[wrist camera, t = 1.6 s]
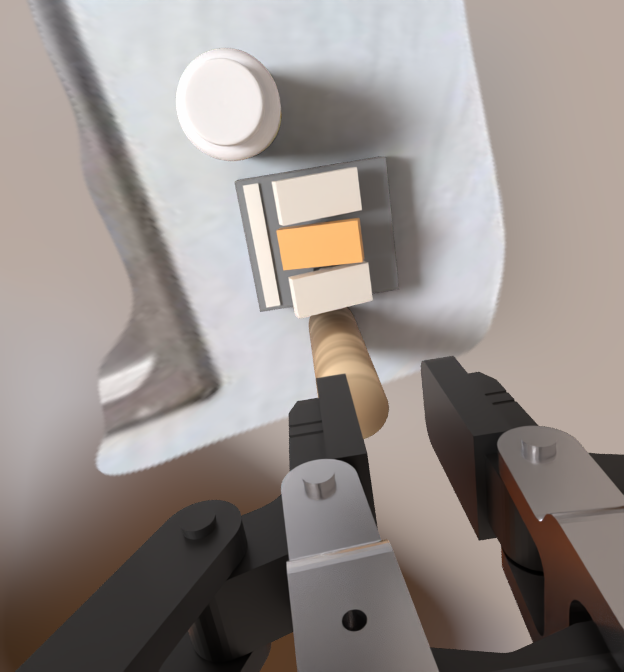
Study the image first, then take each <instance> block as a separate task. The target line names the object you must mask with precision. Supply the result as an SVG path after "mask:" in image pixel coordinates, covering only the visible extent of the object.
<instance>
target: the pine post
mask: <svg viewBox="0 0 624 672" xmlns="http://www.w3.org/2000/svg"><path fill="white" fill-rule="evenodd" d="M309 332H310V340H311V348H312V355H313V363H314V370H315V378H319V377H325V376H332V375H338V374H344V373H345V374H346V377H347V381H348V384H349V388H350V392H351V395H352V399H353V403H354V407H355V410H356V414H357V418H358V421H359V425H360V429H361V432H362V436H363V439H365V438H368V437H370V436H372V435H374V434H375V433H376V432H377V431H379V430H380V429H381V428H382V426H383V425H384V423H385V422H386V419H387V417H388V412H389V405H388V400H387V398H386V395H385V393H384V390H383V388H382V385H381V383H380V380H379V378H378V375H377V373H376V370H375V368H374V365H373V363H372V361H371V358H370V356H369V353H368V351H367V348H366V346H365V343H364V341H363V338H362V336H361V333H360V331H359V328H358V326H357V323H356V321H355V319H354V316H353V314H352V312H351V311H350V310H349V309H348V308H347V307H345V308H341V309H337V310H333V311H329V312H325V313H321V314H316V315H312V316H311V317H310V319H309ZM316 385H317V382H316ZM317 393H318V389H317ZM318 398H319V397H318Z"/></svg>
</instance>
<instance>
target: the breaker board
mask: <svg viewBox="0 0 624 672" xmlns="http://www.w3.org/2000/svg"><path fill="white" fill-rule="evenodd" d="M350 167H357V172H358V181H359V189H360V198H361V206H362V210H359V211H354V212H350V213H345V214H340V215H335V216H330V217H325V218H320V219H315V220H310V221H305V222H300V223H295V224H290V225H285V226H282V225H279V220H278V215H277V209H276V203H275V198H274V192H273V186H272V181H277V180H283V179H289V178H294V177H300V176H305V175H308V174H314V173H322V172H327V171H333V170H338V169H344V168H350ZM235 187H236V192H237V197H238V202H239V207H240V212H241V217H242V222H243V227H244V232H245V237H246V242H247V247H248V252H249V257H250V262H251V267H252V272H253V277H254V283H255V288H256V293H257V298H258V303H259V308H260V312H263V311H269V310H275V309H281V308H287V307H294V306H293V300H292V295H291V289H290V283H289V278H288V277H291V276H295V275H300V274H304V273H308V272H313V271H317V270H319V269H320V268H323V267H335V266H339V265H331V266H321V267H311V268H302V269H292V270H283V265H282V260H281V254H280V248H279V243H278V237H277V232H276V230H278V229H279V228H282V227H290V226H298V225H306V224H313V223H316V222H322V221H326V222H330V221H338V220H346V219H354V218H360V226H361V234H362V242H363V251H364V260H363V261H365V262H368V265H369V273H370V281H371V290H372V294H373V293H379V292H385V291H391V290H398V289H399V285H398V275H397V265H396V255H395V245H394V235H393V225H392V215H391V205H390V195H389V185H388V176H387V166H386V157H374V158H368V159H362V160H356V161H350V162H343V163H337V164H331V165H325V166H319V167H313V168H307V169H301V170H295V171H289V172H283V173H277V174H271V175H265V176H259V177H253V178H247V179H240V180H237V181H235ZM340 265H344V264H340Z"/></svg>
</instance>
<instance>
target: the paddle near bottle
mask: <svg viewBox="0 0 624 672" xmlns="http://www.w3.org/2000/svg"><path fill="white" fill-rule="evenodd" d="M272 186H273V192H274V198H275V203H276V209H277V215H278V220H279V225H282V226H285V225H290V224H295V223H300V222H305V221H310V220H315V219H320V218H325V217H330V216H335V215H340V214H345V213H350V212H354V211H359V210H362V206H361V198H360V189H359V181H358V172H357V167H350V168H344V169H338V170H333V171H327V172H322V173H314V174H308V175H305V176H300V177H294V178H289V179H283V180H277V181H272Z"/></svg>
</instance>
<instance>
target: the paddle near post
mask: <svg viewBox="0 0 624 672" xmlns="http://www.w3.org/2000/svg"><path fill="white" fill-rule="evenodd" d="M288 278H289V283H290V289H291V295H292V300H293V306H294V312H295V315H296V316H297V317H298V318H299V319H300V318H304V317H308V316H312V315H316V314H321V313H325V312H329V311H333V310H337V309H341V308H345V307H349V306H353V305H357V304H361V303H365V302H369V301H373V298H372V290H371V281H370V273H369V265H368V262H365V261H363V262H359V263H350V264H344V265H339V266H335V267H323V268H320V269H319V270H317V271H313V272H308V273H304V274H300V275H295V276H291V277H288Z"/></svg>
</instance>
